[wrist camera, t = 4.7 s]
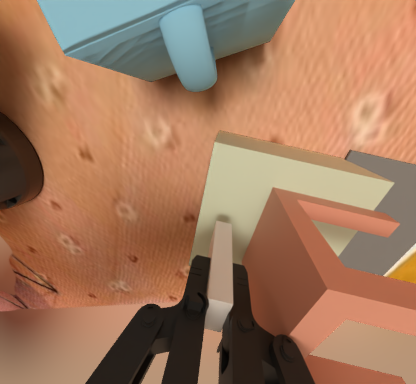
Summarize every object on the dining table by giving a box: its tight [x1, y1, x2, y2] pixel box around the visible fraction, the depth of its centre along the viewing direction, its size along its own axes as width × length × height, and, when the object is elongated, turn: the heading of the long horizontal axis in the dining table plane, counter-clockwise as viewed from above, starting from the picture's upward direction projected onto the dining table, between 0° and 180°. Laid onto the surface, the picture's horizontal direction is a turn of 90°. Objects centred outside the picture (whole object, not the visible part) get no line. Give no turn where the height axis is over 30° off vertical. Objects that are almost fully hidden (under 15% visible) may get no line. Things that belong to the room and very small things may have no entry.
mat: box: [338, 150, 416, 276], centre depth 22 cm, size 14×16×1 cm
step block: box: [189, 131, 394, 266], centre depth 20 cm, size 14×14×7 cm
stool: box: [242, 187, 416, 384], centre depth 12 cm, size 10×9×9 cm
